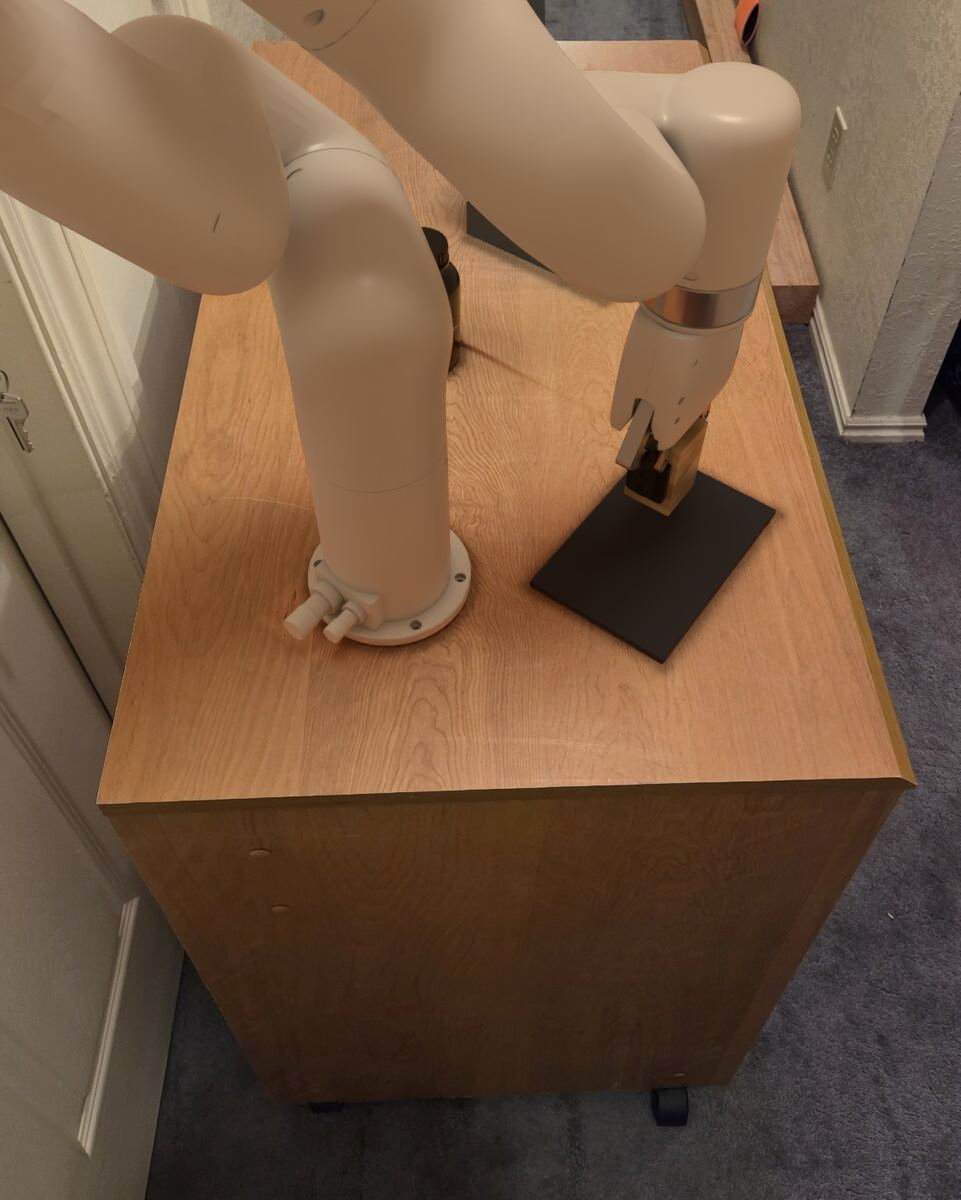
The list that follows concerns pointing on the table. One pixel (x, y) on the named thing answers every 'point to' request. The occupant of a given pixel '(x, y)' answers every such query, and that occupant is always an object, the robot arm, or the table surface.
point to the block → (678, 467)
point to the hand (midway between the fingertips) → (661, 473)
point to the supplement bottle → (447, 283)
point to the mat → (653, 561)
